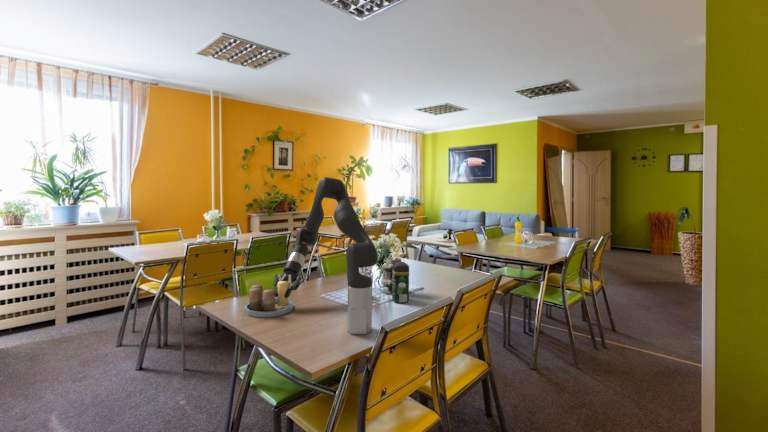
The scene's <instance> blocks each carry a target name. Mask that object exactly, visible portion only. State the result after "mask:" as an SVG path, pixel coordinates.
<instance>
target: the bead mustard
mask: <svg viewBox="0 0 768 432" xmlns="http://www.w3.org/2000/svg"><path fill="white" fill-rule="evenodd" d="M279 281H280V280H279ZM287 289H288V282H287V281H280V282H278V297H277V298H278V303H277V306H278V307H288V300H289V297H288V298H285V297H284V295H285V293H286V290H287Z"/></svg>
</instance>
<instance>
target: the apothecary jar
mask: <svg viewBox="0 0 768 432" xmlns="http://www.w3.org/2000/svg"><path fill="white" fill-rule="evenodd" d="M396 262H403V261H402V259H401V257H397V258H396V259H395V260H390V259H387V261H386V263H384V264H383V265H382V264H381V265H382V267H381V268H382V269H383V275H382V278H381V280H380V283H381V285H382V286H383V287H384V288H386V289H387V290H386V289H385V290H386V291H385V292H384V293H385V294H384V293H383V294H384V295H387V294H392V274H393V264H394V263H396Z"/></svg>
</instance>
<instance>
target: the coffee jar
mask: <svg viewBox="0 0 768 432" xmlns="http://www.w3.org/2000/svg"><path fill="white" fill-rule="evenodd" d="M409 290H410V265H409V264H408V263H406V262H405V261H402V262H396V263H394V264H393V274H392V295H391V297H392V299H391V300H392V301H393V302H394V303H397V304H406V303H408V302H409V301H410V294H409V293H410V291H409Z"/></svg>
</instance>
